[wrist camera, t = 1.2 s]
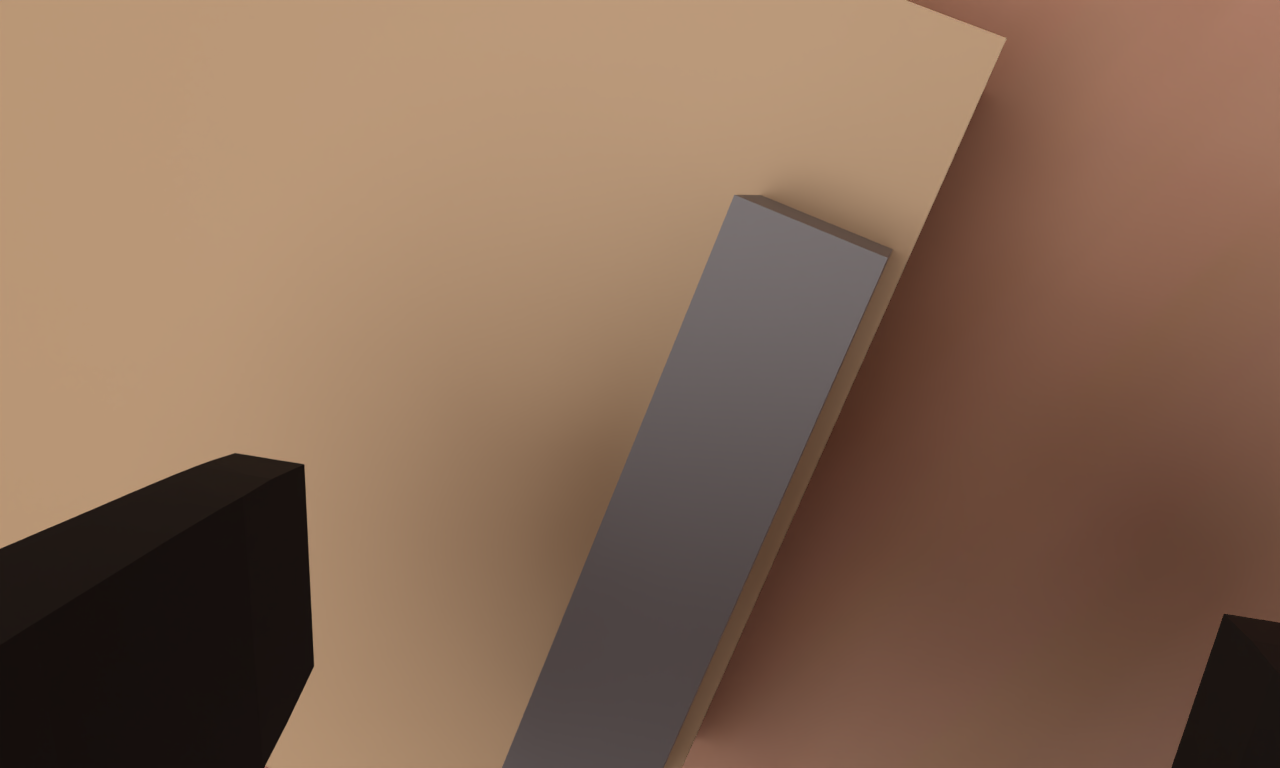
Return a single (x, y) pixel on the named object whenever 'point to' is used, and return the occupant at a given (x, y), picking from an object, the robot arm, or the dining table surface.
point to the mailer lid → (470, 320)
